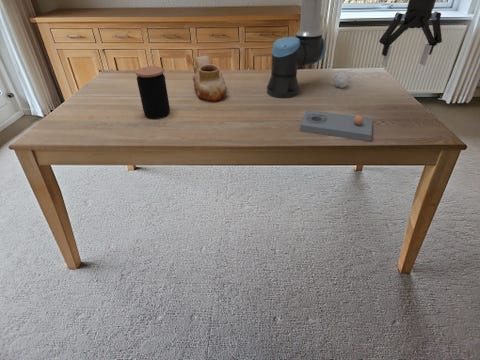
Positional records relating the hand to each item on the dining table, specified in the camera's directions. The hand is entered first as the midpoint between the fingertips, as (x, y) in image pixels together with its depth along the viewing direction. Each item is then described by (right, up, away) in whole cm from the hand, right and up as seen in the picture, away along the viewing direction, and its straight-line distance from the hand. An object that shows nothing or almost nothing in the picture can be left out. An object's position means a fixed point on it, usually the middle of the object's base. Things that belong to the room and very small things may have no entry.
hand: (403, 64), depth 108 cm
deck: (-21, -21, +9) cm, 31 cm away
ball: (-14, -19, +4) cm, 24 cm away
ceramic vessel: (-73, +1, +39) cm, 82 cm away
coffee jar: (-92, -13, +20) cm, 96 cm away
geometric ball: (-8, +5, +43) cm, 44 cm away
